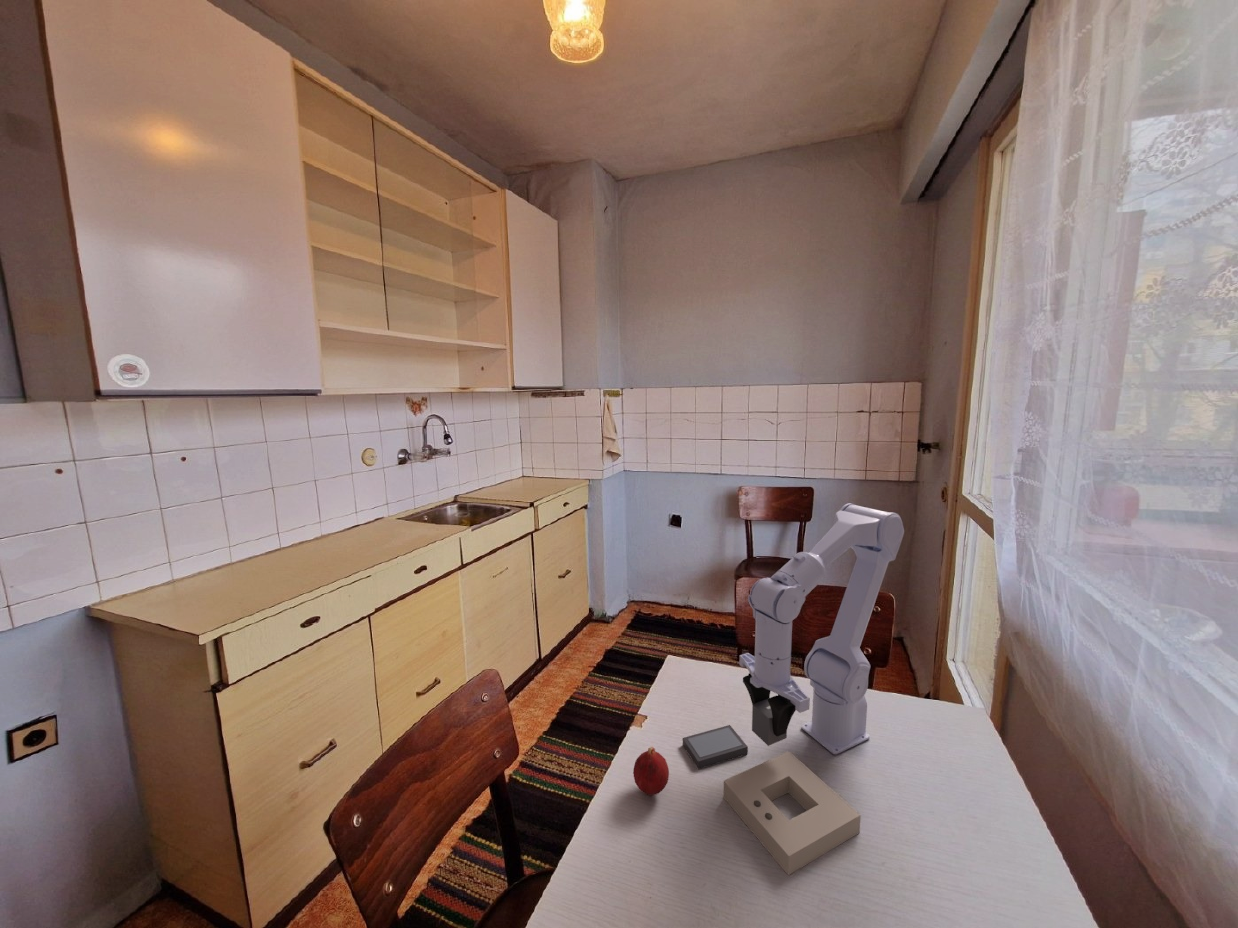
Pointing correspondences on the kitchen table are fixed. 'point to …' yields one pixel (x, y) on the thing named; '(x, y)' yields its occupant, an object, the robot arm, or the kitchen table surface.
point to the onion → (651, 772)
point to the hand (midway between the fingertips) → (770, 724)
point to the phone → (714, 746)
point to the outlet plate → (804, 833)
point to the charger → (764, 723)
